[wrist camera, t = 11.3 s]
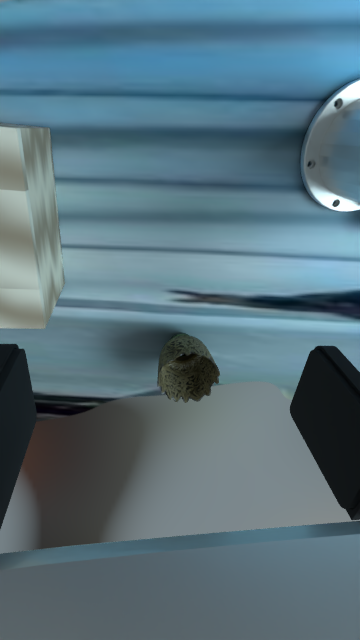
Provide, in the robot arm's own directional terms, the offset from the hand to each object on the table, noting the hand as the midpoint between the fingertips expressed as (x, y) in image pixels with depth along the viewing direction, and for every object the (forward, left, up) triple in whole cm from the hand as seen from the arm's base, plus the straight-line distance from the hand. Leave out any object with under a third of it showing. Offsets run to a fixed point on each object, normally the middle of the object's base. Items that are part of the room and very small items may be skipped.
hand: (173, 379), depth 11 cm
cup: (-16, +10, -28) cm, 34 cm away
